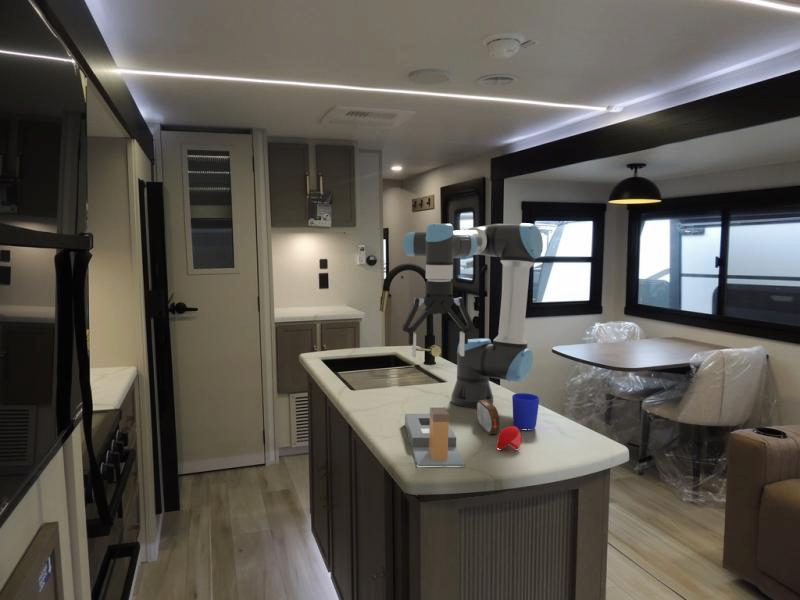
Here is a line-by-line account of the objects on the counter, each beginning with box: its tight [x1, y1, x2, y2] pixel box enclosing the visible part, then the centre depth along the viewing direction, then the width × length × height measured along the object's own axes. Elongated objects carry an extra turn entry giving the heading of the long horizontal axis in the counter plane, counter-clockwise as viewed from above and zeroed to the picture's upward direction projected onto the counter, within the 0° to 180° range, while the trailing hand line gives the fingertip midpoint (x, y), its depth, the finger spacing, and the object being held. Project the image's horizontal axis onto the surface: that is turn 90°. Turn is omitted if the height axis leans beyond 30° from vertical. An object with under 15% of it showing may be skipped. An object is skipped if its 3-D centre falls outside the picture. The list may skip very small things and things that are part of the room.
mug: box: [511, 392, 540, 431], centre depth 170 cm, size 8×12×10 cm
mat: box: [412, 446, 466, 467], centre depth 142 cm, size 12×12×1 cm
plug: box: [429, 407, 450, 460], centre depth 142 cm, size 4×6×12 cm, turn 5°
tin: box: [476, 399, 501, 435], centre depth 166 cm, size 15×3×8 cm, turn 9°
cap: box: [496, 425, 523, 451], centre depth 151 cm, size 8×6×6 cm
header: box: [404, 413, 457, 451], centre depth 159 cm, size 12×22×4 cm, turn 5°
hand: (438, 355), depth 152 cm, fingers open, 13 cm apart
